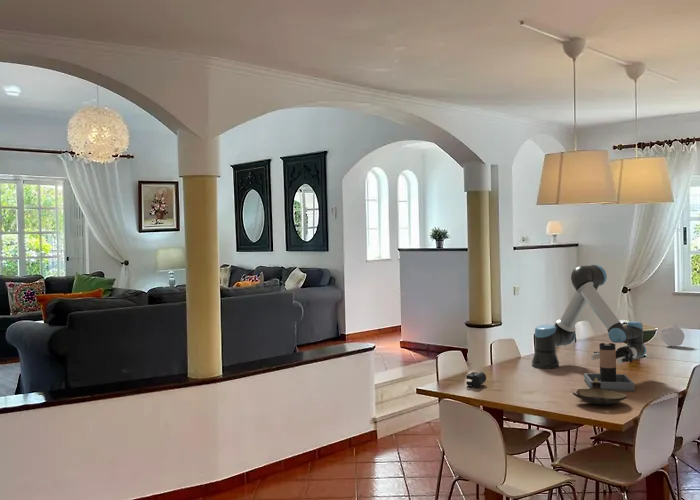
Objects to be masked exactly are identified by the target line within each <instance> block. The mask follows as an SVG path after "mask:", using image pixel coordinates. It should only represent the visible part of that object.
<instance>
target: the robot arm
mask: <svg viewBox="0 0 700 500" xmlns="http://www.w3.org/2000/svg"><path fill="white" fill-rule="evenodd" d="M570 274H571V275H570V281H571V284H572V286H573V288H574V289H575V290H574V293H573V294H572V296H571V298H570V300H569V302H568V304H567V306H566V308H565V310H564V312H563V314H562V316H561V318H559V319H557V320H556V321H555V324H541V325H538V326H537V325H536V327H535V329H534V354H533V358H532V361H531V366H532V367H534V368H538V369H556V368H560V362H559V359H558V356H557V347H563V346H564V347H565V346H567V345H570V344H572V343H574V342H575V339H576V338H577V337H576V336H577V335H576V330H577V329H576V327H575V326H576V324H577V322H578V321H579V319H580V316H581V315H582V313H583V310H584V309H585V307H586V305H587V304H588V305H589V306H590V309H592V310H593V312H594V313H595V315H596V316H597V317H598V319H599V320H600V322H601V323H602V324H603V325H604V327H605V328H606V329H607V331H608V339H609V340H610V342H611V343H613V344H615V343H616V344H618V343H620V344H621V343H624V342H627V345H624V346H620V347H619V348H617V349H616V365H619V364H620V365H621V364H623V363H631V364H633V360H637V359H641V358H643V357H644V356H646V354H647V347H646V346H645V345H644V328H643V323H642V322H640V321H635V320H634V321H632V320H631V321H628V322H627V323H626V326H624V325H623V324H622V323H621V321H620V320H619V318H618V317H617V316H616V315H615V313H614V312H613V310H612V309H611V308H610V306H609V304H607V302H606V301H605V300H604V298H603V297H602V296H601V295H600V293H599V292H598V290H599V287H600V286H603V285H604V284H606V281H607V279H608V278H607V277H608V275H607V273H606V270H605V269H604V267H603V266H600V265H598V264H597V265H596V264H591V265H579V266H577V267H575V268H574V269H573V270H572V272H571V273H570ZM594 360H600V351H594V352H593V353H592V354H591V361H594Z"/></svg>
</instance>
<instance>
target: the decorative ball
mask: <svg viewBox="0 0 700 500" xmlns="http://www.w3.org/2000/svg"><path fill="white" fill-rule="evenodd" d="M659 333H660V337H659V339H660V340H661V341H662V342H664V344H665V345H667V346H668V347H670V346H676V347H678V346H681V345H682V344H683V343H684V340H685V333H684V330H682V328H680V327H678V325H677V324H673V323H672V324H669V325H666V326H664V327H662V329H661V330H660V332H659Z"/></svg>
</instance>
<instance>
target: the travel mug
mask: <svg viewBox="0 0 700 500" xmlns="http://www.w3.org/2000/svg"><path fill="white" fill-rule="evenodd" d="M598 348H599V352H600V358H599V374H600V379H601V382H616V374H617V359H616V351H617V349H616V344H615V343H614V342H609V343H605V342H600V343H599V347H598Z"/></svg>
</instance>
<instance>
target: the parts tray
mask: <svg viewBox="0 0 700 500" xmlns="http://www.w3.org/2000/svg"><path fill="white" fill-rule="evenodd" d="M595 378H597V379H598V381H599V383H601V386H600V388H601V389H602V390H609V391H614V392H635V382H634V381H632V379H630V377H628V376H627V374H626V373H625V374H622V373H620V374H619V373H616V382H601V379H600V373H595V372H594V373H590V372H589V373H587V372H584V374H583V379H584V380H583V381H584V383H585V384H586V386H587V387H588V389H593V386H592V383H593V382H594V379H595Z"/></svg>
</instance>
